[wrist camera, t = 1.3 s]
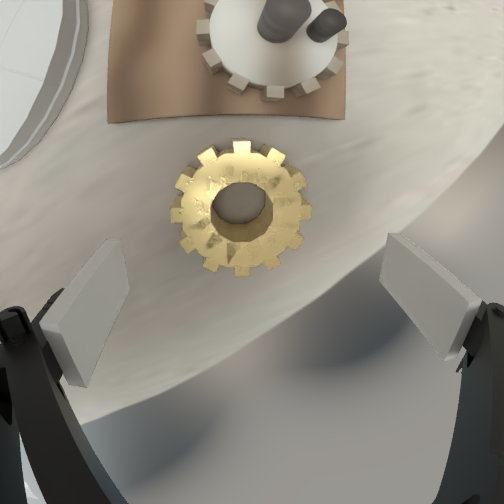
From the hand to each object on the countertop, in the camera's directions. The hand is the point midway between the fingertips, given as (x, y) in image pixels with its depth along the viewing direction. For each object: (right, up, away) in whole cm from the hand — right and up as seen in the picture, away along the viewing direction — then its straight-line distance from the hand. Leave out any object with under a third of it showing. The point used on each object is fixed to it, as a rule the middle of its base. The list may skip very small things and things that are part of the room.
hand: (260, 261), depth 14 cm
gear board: (-2, +23, +2) cm, 23 cm away
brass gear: (-2, +5, +11) cm, 12 cm away
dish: (-25, +19, +2) cm, 32 cm away
